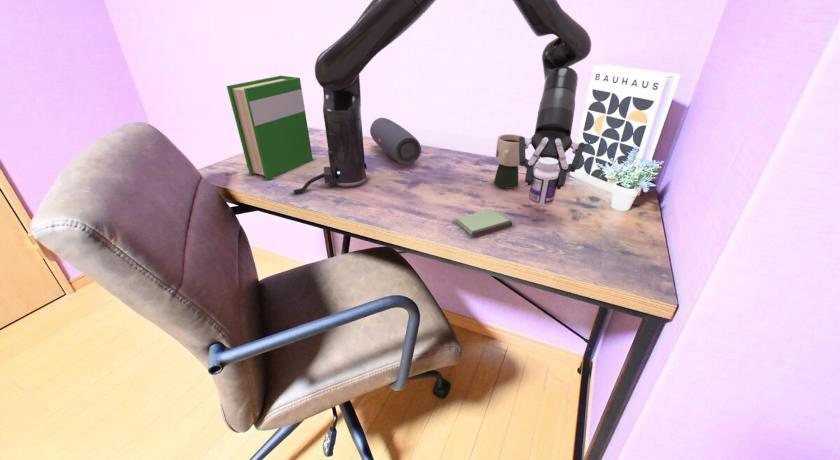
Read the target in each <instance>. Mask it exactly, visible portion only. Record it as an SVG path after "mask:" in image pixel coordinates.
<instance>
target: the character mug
mask: <svg viewBox="0 0 840 460" xmlns="http://www.w3.org/2000/svg"><path fill="white" fill-rule="evenodd" d="M520 137H524V138H525V139H526V137H525V136H522V135H519V134H512V133H507V134H501V135H498V136H497V140H496V141H497V142H496V151H495V157H494V158H495V162H496V163H498V165H497V168H496V172H495V176H494V181H493V183H494V185H495V186H496V187H499V188H504V189H505V188H506V189H515V188H517V187H518V185H519V166H520V164H519V138H520Z"/></svg>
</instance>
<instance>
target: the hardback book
mask: <svg viewBox="0 0 840 460" xmlns="http://www.w3.org/2000/svg"><path fill="white" fill-rule="evenodd" d="M226 89H227V90H226V91H227V94H228V97H229V101H230V104H231V109H232V112H233V117H234V121H235V125H236V127H237V132H238V135H239V139H240V143H241V148H242V151H243V154H244V159H245V163H246V166H247V170H248V174H249V176H254V175H256V174H257V175H260V176H264V179H265V180H266V181H269V180H271V179H273V178H276V177H278V176H280V175H282V174H285V173H286V172H289V171H291V170H293V169H296V168H298V167H300V166H303V165H305V164H307V163H309V162H311V161H313V160H314V159H313V158H314V157H313V152H312V145H311V139H310V133H309V132H310V131H309V126H308V121H307V114H306V107H305V101H304V95H303V89H302V84H301V78H300V77H297V76H296V77H295V76H290V75H289V76H287V75H276V76H271V77H266V78H260V79H256V80H251V81H244V82H240V83H235V84H229V85H226Z"/></svg>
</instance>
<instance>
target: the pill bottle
mask: <svg viewBox="0 0 840 460" xmlns="http://www.w3.org/2000/svg"><path fill="white" fill-rule="evenodd" d="M558 168H559V165H558V160H556V159H554V158H549V157H543V158H541V157H540V159H539V160H538V162H537V167H534V169H533V175H532V181H531V186H530V188H529V194H528V202H529V203H530V204H532V205H533V206H536V207H540V208H541V207H542V208H544V207H550V206H552V205H553V204H554V202H555V197H556V192H557V183H558V178H559V172H560V171H559V170H558Z"/></svg>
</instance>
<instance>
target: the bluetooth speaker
mask: <svg viewBox="0 0 840 460" xmlns="http://www.w3.org/2000/svg"><path fill="white" fill-rule="evenodd" d="M369 134H370V136H371V138H372V140H373V141H374V142H375V143H376V145H378V147H379V148H380V149H381V150H382V151H383V152H384V153H386V155H387V156H389V158H391V159H392V160H393V161H395V162H397V163H398V164H402V165H408V166H409V165H412V164H414V163H415V162H417V161H418V159H419V158H420V157H421V154H422V146H421V143H420V141H419V140H418V139H417V138H416V137H415V136H414V135H413V134H412V133H411V132H410V131H408V130H407V129H405V128H404V127H402V126H401V125H400V124H398V123H396V121H393V120H391V119H389V118H386V117H379V118H376V119H375V120H373V122H372V123H371V125H370V128H369Z"/></svg>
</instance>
